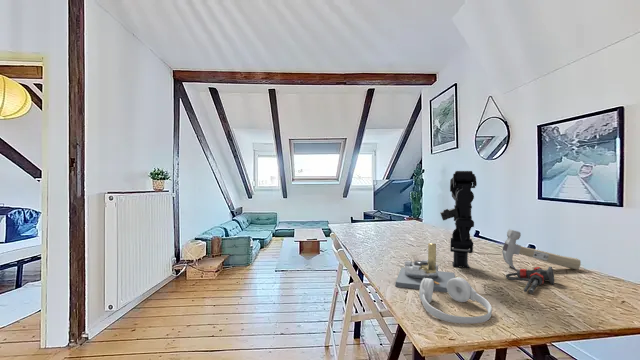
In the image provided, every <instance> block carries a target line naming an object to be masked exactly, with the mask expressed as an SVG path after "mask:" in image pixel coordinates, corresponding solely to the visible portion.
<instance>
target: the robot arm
mask: <svg viewBox="0 0 640 360" xmlns="http://www.w3.org/2000/svg"><path fill="white" fill-rule="evenodd" d="M449 180H450V182H449V192H451V197H452V199H453V200H454V202H455V203H454V205H453V206H454V208H450V209H448V208H445V209H443V211H441V212H440V216H441V219H442V221H447V220H448V219H452V218H453V221H454V225H455V229H454V230H453V231H452V237H450V242H449V243H450V244H449V245H450V246H449V250H450V252H451V253H453V261H452V263H451V264H452V267H454V268H467V269H469V268H470V265H469V261H468V260H469V259H468V258H469V255H468V254H473V253H474V242H473V239H472V238H471V234H470V233H471V232H470V231H471V229H472V228H475V222H474V220H473V218H472V217H473V216H472V209H473V205H472V202H473V201H474V200H475V194H474V192H473V190H472V189H476V187H477V184H478V183H477V176H476V175H475V173H473V170H455V172H454V173H453V174H452V178H451V179H449Z"/></svg>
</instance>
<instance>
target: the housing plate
mask: <svg viewBox="0 0 640 360" xmlns="http://www.w3.org/2000/svg"><path fill="white" fill-rule="evenodd" d="M399 270H400V271H399V272H398V275H397V278H396V280H395V287H400V288H408V289H415V290H416V289H417V290H420V284H421V281H422V280H423V279H416V278H412V277H409V276H407V275H405V267H401V268H400V269H399ZM452 278H456V273H455V272H451V271H442V270H441V271H440V270H438V277H437V278H435V279H433V281H434V287H433V292H441V293H448V291H447V282H448V281H449V280H450V279H452Z"/></svg>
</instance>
